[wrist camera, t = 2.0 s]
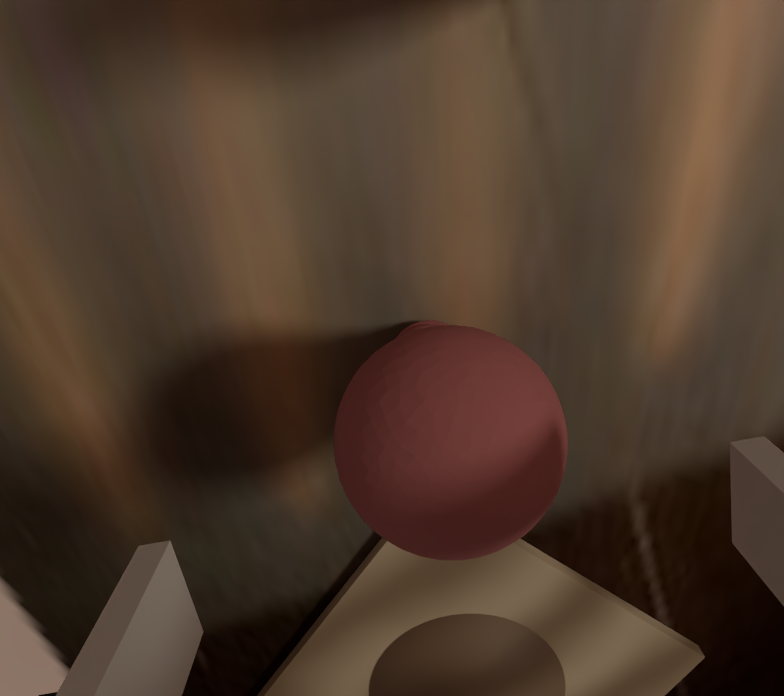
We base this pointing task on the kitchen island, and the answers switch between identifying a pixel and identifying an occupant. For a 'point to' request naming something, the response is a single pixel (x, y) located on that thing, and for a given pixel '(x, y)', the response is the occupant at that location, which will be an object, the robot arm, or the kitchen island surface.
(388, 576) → the seat board
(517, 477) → the dark red bulb shape
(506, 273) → the kitchen island surface
